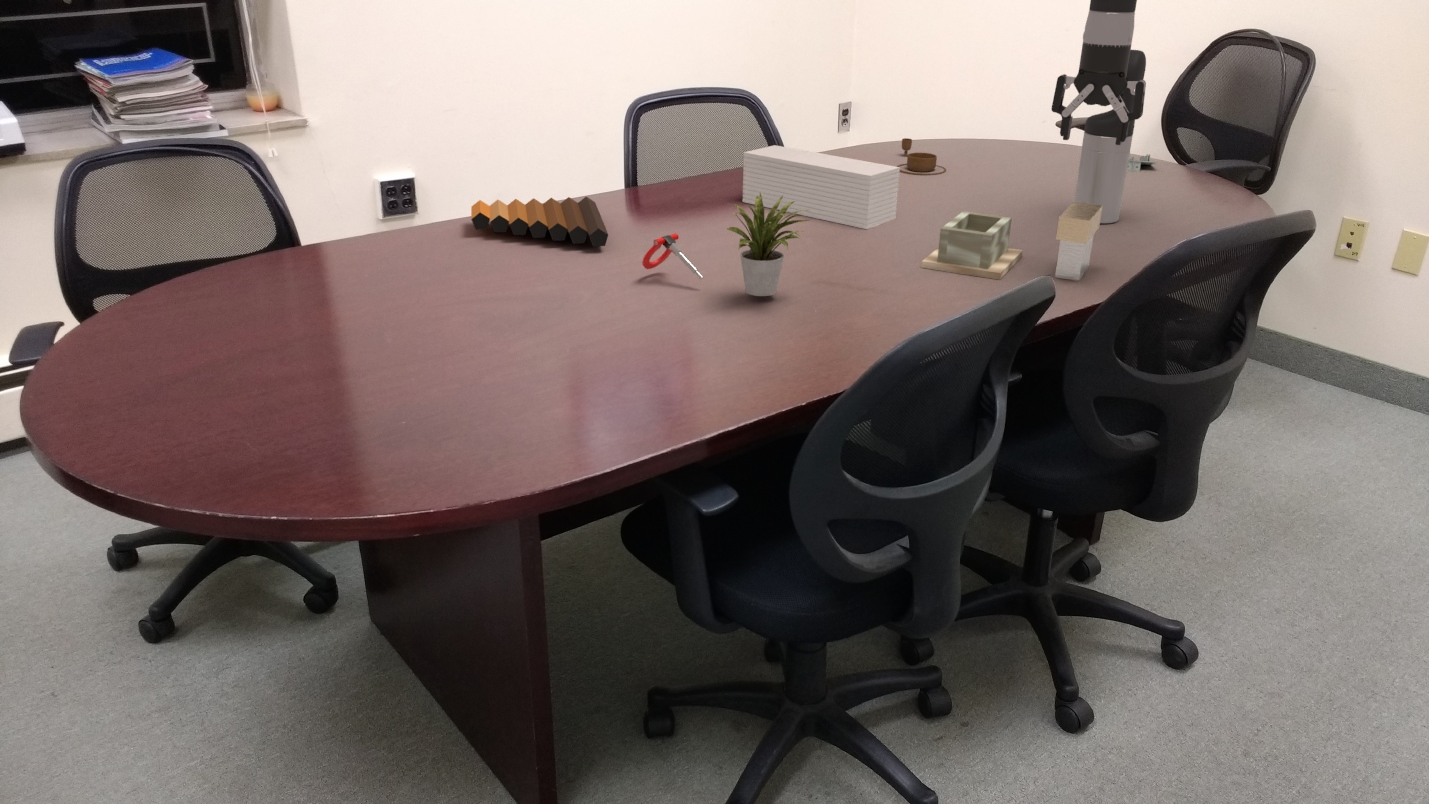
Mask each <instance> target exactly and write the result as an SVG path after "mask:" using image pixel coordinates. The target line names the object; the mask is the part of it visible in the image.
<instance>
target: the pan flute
mask: <svg viewBox="0 0 1429 804" xmlns="http://www.w3.org/2000/svg"><path fill="white" fill-rule="evenodd" d="M470 208H471V213H470V214H471V215H470V217H471V218H470V219H471V222H472V224H473V227H474V229H475V231H476V230H478V231H479V230H488V227H489V223H490V224H491V227H492V229H493V231H494V232H493V233H506V232H507V229H508V225H509V227H510V229H511V231H512V234H513V236H523V235H526V234H527V230H528V229H529V231H530V233H531V236H532V238H533V239H535V238H536V239H537V238H539V239H540V238H545V237H546V235H547V232H548V231H549V234H550V237H551V240H552V241H556V242H557V241H565V240H566V237H567V232H568V234H569V235H568V236H570V240H571V242H572V245H573V244H585V243H586V241H587V236H589V239H590V242H591V245H592V247H605V246H606V244H607V240H608V238H609V233H608V230H607V228H606V225H605V224H604V223H605V222H604V221H603V218H602V216H601V213H600V211H599V209H598V206H597V203H596V202H595V201H594V200H593V199H591V198H590V197H588V196H585V197H584V198H582V199H580V201H578V202H577V201H576V200H574V199H573V198H571V197H569V196H568V197H567V198H566V199H564V200H563V201H562V202H559V201H557V200H556V199H554V198H553V197H549V198H548V200H546V201H544V202H543V203H542V202H540V201H539V200H537V199H536V198H532V199H530V200H529V201H528V202H526V203H525V204H524V203H523V202H521V201H520V200H519V199H517V198H515V199H514V200H512V201H510V203H508V204H506V203H504V202H503V201H501V200H499V199H496V200H495V201H494V202H492V203H491V204H490V205H489V204H487V203H485V202H484V201H483V200H481V199H479V200H477V202H476V203H474V204H473V205H472V206H471V207H470ZM547 230H548V231H547Z"/></svg>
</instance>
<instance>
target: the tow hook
mask: <svg viewBox="0 0 1429 804" xmlns="http://www.w3.org/2000/svg"><path fill="white" fill-rule="evenodd" d="M679 238H680V237H679V234H678V233H671V234H668V235H665V236H661V237H660V238H656V239H654V240H653V245H652V246H651V248H650V249H648V251H647V252H646V253H645V254H644V257H643V258H642V259H643V260H642V262H641V265H642V266H643V267H644V269H646V270H652V269H655V268H656V267H658V266H660V265H661V264H662V263H664V262H665V260H667V259H668V258H669V256H670V255H671V254H672V253H673V254H674V255H675V257H678V258H679V260H681V261H682V263H683V264H684V265H685V266H686V267H687V268H688V269H689V270H690V271H691V273H693V274H695V275H696V276H697V278H698V279H700V280H703V279H704V276H703V275H702V273H700V272H699V269H698V268H697V267H696V266H695V264H693V263H692V261H690V260H689V258H688V257H686V255H685V254H684V253H683V252H682V249H681V248H680V247H679V246H678V245H677V242H676V241H678V240H679ZM662 246H663V247H665V251H664V252H663V254H661V256H660V257H658V258H657V259H655V260H653V261H651V258H652V257H653V255H654V254H655V253H656V252H657V251H658V250H659V249H660V248H661V247H662Z"/></svg>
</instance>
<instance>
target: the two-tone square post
mask: <svg viewBox="0 0 1429 804" xmlns="http://www.w3.org/2000/svg"><path fill="white" fill-rule="evenodd" d="M1102 206H1103V205H1096V204H1088V203H1080V202H1074V201H1073V202H1072V203H1071V204H1070V205H1069V206H1068V207H1067V208H1066V209H1065V210H1064V211H1063V212H1062V213H1061V214H1060V215H1059V216H1058V223H1057V229H1056V230H1057V231H1056V238H1055V240H1056V241H1059V247H1058V254H1057V263H1056V268H1055V275H1054V278H1057V279H1065V280H1072V281H1077V282H1078V281H1080V280H1081V278H1082V277H1083V275H1084V274H1085V273H1086V272H1087V270H1088V269H1089V266H1090V260H1091V254H1092V248H1093V241H1094V236H1095V233H1096V232H1097V230H1099V228H1100V224H1101V223H1100V219H1101V212H1102Z"/></svg>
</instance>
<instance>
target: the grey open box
mask: <svg viewBox="0 0 1429 804" xmlns="http://www.w3.org/2000/svg"><path fill="white" fill-rule="evenodd" d="M1012 221H1013V218H1012V217H1011V216H1009V217H1008V216H1002V215H997V214H989V213H988V214H986V213H980V212H973V211H966V210H963V211H961V212H960V213H959V214H957V215H956V216H955V217H953V218H952V219H951V220H950V221H948V222H947V223H946V224H944V225H943V226H942V227H940V230H939V241H938V247H937V248H936V249H935V250H933V251H932V252H931V253H930V254H928V255H927V256H926V257H925V258H924V259H922V261H921V266H920V267H921V268H922V269H928V270H935V271H940V272H946V273H947V272H948V273H953V274H961V275H966V276H973V277H974V276H975V277H980V278H987V279H990V280H992V279H993V280H1000V281H1001V279H1003V277H1004V276H1005V275H1006V274H1007V273H1008V272H1009V271H1010V270H1011V269H1012V268H1013V266H1015V264H1017V262H1019V260H1020V259H1021V258H1022V257H1023V249H1017V248H1009V243H1010V235H1011V229H1012V228H1011V227H1012Z"/></svg>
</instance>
